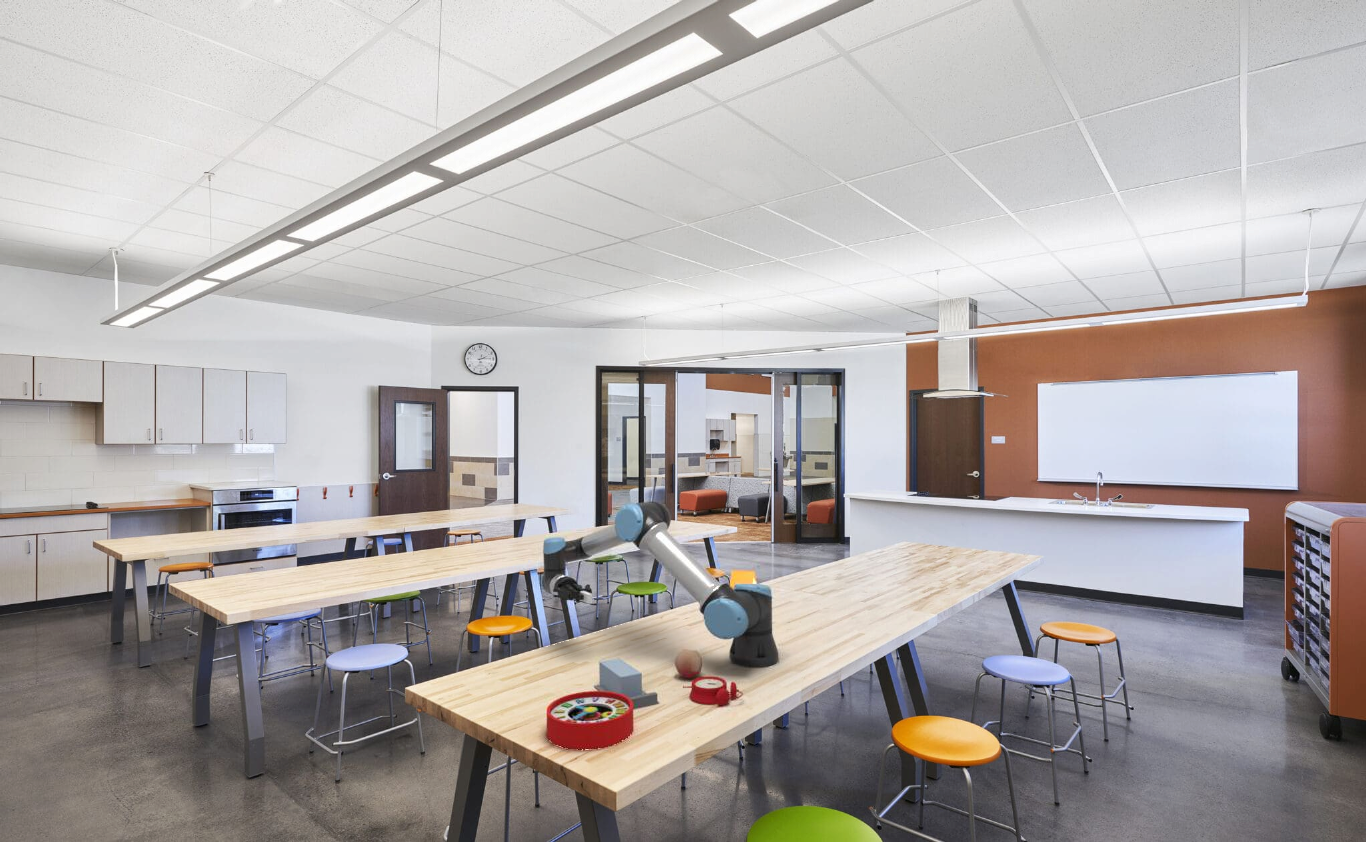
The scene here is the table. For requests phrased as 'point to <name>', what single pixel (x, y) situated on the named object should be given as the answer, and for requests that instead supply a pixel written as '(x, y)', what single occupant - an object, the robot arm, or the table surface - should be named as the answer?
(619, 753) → the table surface
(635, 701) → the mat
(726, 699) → the alarm clock
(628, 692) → the blue-grey rectangular block
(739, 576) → the orange juice
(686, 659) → the fruit
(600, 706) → the toy clock
